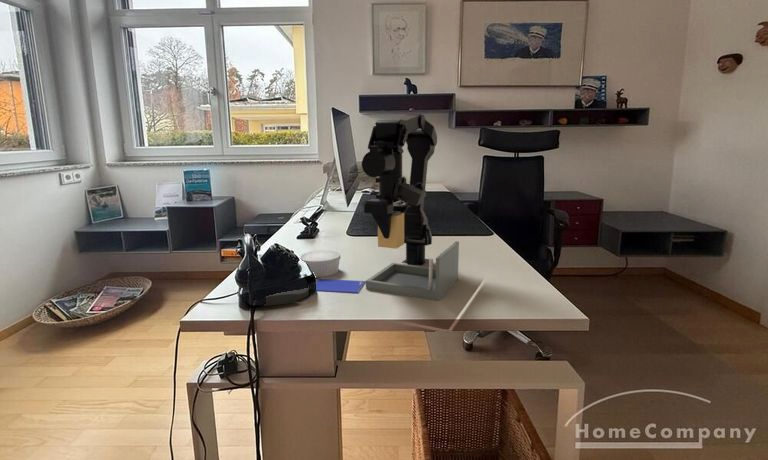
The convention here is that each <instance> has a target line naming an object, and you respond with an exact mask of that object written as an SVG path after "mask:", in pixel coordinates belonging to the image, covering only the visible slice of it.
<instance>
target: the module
mask: <svg viewBox="0 0 768 460" xmlns="http://www.w3.org/2000/svg"><path fill="white" fill-rule="evenodd" d="M396 212H397V213H396V214H395V215H394V216H393V217H392V218H391V227H390V235H389V238H388V239H387V238H384V236H383V234H382V232H381V230H380V228H379V226H378V225H377V246H378V248H379V247H380V248H386V249H387V248H388V249H396V250H397V249H398V248H400V247H401V246H403V245H405V243H404V213H401V212H400V211H396Z"/></svg>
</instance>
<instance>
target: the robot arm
mask: <svg viewBox="0 0 768 460" xmlns="http://www.w3.org/2000/svg"><path fill="white" fill-rule="evenodd" d="M437 143H438V134H437V131H436V129H435V126H434V125H433V124H432V123H430V122H429V121H428V120H426V116H425V115H424V114H422V113H408V114H405V115H404V116H401V117H400V118H397V119H378V120H376V121H375V123H374V125H373V127H372V130H371V134H370V137H369V141H368V144H367V145H368V146H367V150H369V151H368V152H366V153H365V154H364V156H363V157H362V161H361V168H362V171H363V172H364V174H366V175H367V176H368V177H369V178H375V183H378V193H377V194H375V198H371V199H367V200H365V202H364V203H363V204H362V212H363V213H364V214H370V215H371V216H372V217H373V219H374V220H375V223H376V224H377V227H378V226H379V228H380V230H381V232H382V234H383V236H384V238H387V239H388V238H389V235H390V227H391V218H392V217H393V216H394V215H395V214H396V213H397V212H396V211H400V212H401V213H404V244H405V259H404V260H403V261H402V262H401V264H406V265H414V266H423V265H424V264H426V263H427V262H428V263H429V259H430V258H426V246H430V245H432V242H433V241H432V240H433V235H432V232H431V228H430V226H429V219H428V217H427V215H426V213H425V211H424V207H425V197H427V190H426V184H427V174H428V164H429V160H430V159H431V158H432V157H433V155H434V153H435V148H436V146H437ZM405 144H406V146H407V149H406V150H407V151H408V153H409V156H410V158H411V165H410V176H409V183H407V177H406V176H403V154H404V149H403V147H404V146H405ZM406 203H407V204H406Z"/></svg>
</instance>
